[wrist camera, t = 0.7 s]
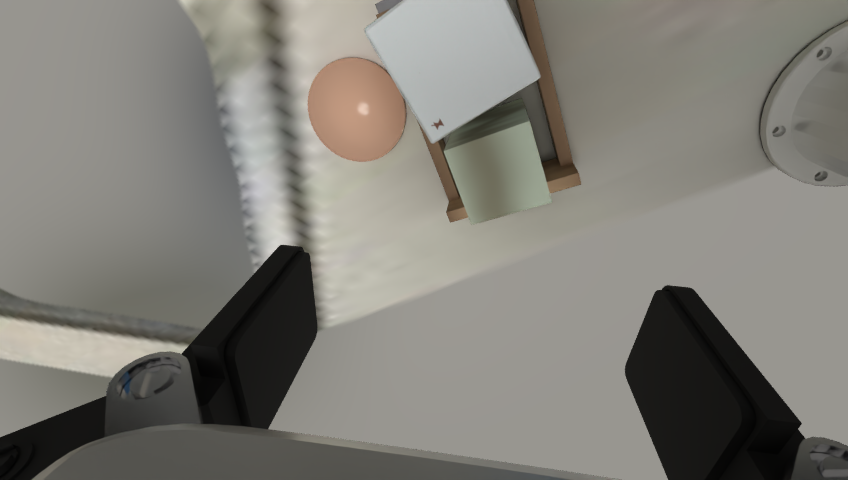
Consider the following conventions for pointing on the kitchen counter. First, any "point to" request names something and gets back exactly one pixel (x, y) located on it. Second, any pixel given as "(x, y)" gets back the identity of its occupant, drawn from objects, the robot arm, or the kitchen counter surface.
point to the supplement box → (452, 58)
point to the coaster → (356, 109)
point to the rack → (503, 148)
